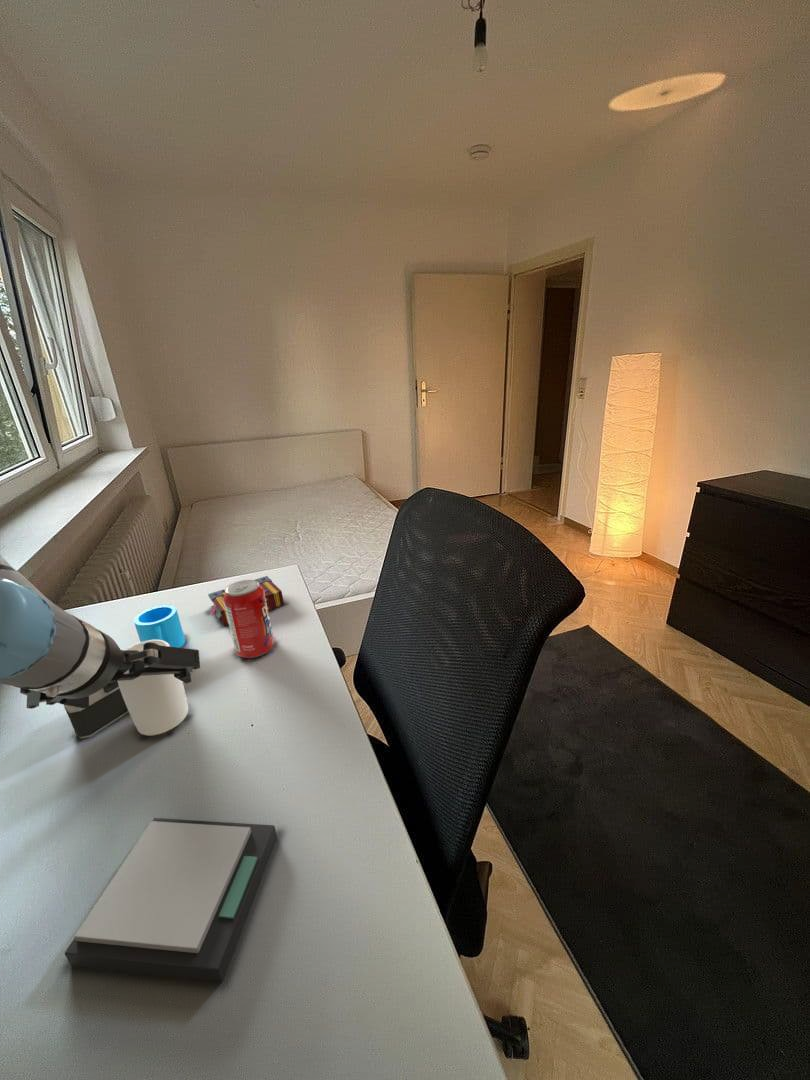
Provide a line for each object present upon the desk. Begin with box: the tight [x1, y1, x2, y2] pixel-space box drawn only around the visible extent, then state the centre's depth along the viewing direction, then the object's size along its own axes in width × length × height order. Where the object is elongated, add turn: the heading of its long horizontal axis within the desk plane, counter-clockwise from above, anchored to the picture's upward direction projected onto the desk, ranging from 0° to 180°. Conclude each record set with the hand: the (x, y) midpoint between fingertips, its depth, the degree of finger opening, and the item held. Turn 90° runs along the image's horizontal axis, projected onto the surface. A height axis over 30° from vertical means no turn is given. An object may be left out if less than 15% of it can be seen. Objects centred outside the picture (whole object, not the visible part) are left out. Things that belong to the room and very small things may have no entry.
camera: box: [63, 681, 129, 739], centre depth 78 cm, size 16×9×10 cm, turn 149°
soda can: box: [223, 579, 275, 659], centre depth 91 cm, size 8×8×15 cm
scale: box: [64, 817, 278, 983], centre depth 49 cm, size 16×14×3 cm
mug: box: [133, 604, 186, 648], centre depth 93 cm, size 12×8×8 cm
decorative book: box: [207, 575, 285, 627], centre depth 109 cm, size 11×16×5 cm
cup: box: [118, 640, 189, 737], centre depth 72 cm, size 8×8×14 cm
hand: (138, 685), depth 66 cm, fingers open, 13 cm apart
